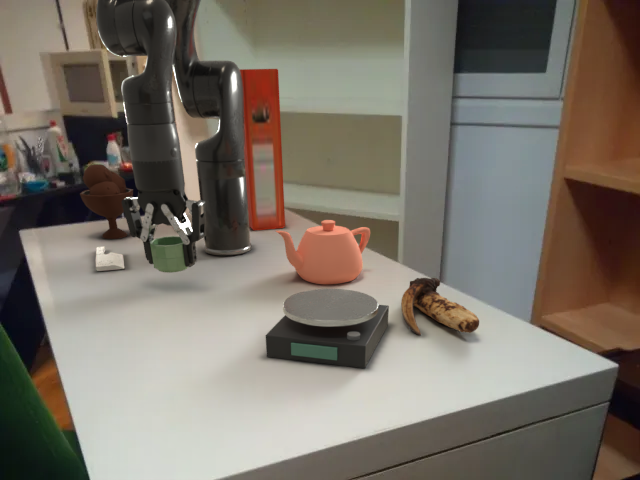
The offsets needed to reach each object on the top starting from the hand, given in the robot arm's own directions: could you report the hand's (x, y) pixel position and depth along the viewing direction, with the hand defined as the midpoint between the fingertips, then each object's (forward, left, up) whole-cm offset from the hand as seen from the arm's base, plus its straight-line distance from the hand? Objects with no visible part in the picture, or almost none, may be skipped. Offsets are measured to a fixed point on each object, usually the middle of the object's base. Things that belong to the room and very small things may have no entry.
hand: (172, 263), depth 99 cm
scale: (+15, +32, -4) cm, 36 cm away
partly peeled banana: (+5, +44, -4) cm, 44 cm away
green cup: (0, 0, -1) cm, 1 cm away
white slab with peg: (-12, -20, -4) cm, 24 cm away
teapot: (-13, +23, -4) cm, 27 cm away
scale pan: (+15, +32, 0) cm, 36 cm away
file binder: (-52, -4, -4) cm, 52 cm away
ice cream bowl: (-30, -31, -4) cm, 43 cm away
